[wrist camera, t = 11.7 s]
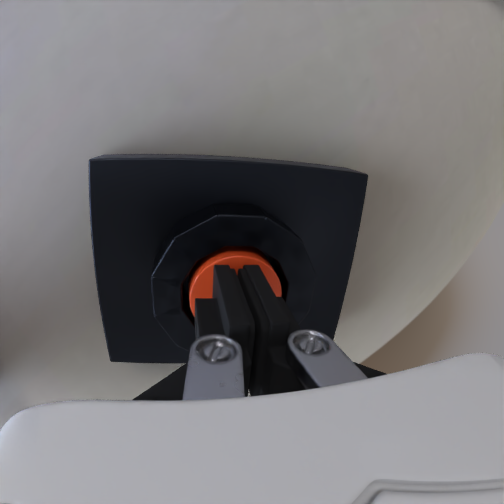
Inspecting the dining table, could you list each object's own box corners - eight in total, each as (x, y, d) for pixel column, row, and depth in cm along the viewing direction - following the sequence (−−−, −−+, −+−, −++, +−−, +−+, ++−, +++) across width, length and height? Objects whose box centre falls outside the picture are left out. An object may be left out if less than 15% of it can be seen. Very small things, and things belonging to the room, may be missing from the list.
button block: (346, 167, 15) (391, 181, 12) (316, 331, 19) (342, 374, 15) (101, 154, 13) (73, 164, 9) (116, 337, 16) (104, 386, 13)
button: (275, 240, 13) (287, 256, 12) (266, 313, 15) (275, 334, 13) (188, 239, 13) (189, 255, 11) (188, 314, 14) (189, 338, 12)
